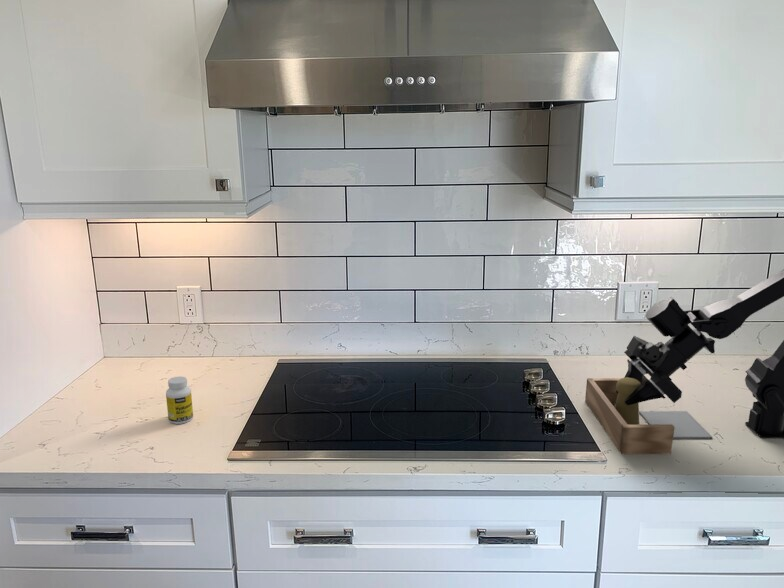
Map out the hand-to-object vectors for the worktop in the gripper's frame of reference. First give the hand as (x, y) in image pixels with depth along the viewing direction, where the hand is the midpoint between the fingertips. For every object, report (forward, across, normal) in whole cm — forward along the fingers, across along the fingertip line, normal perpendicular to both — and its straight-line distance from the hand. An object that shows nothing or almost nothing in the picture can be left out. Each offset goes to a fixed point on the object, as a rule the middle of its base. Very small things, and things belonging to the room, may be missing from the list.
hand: (621, 398), depth 137 cm
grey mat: (-4, 0, +13) cm, 14 cm away
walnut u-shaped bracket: (+4, 0, +6) cm, 7 cm away
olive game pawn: (+4, 0, +6) cm, 7 cm away
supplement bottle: (+74, -4, -65) cm, 99 cm away
